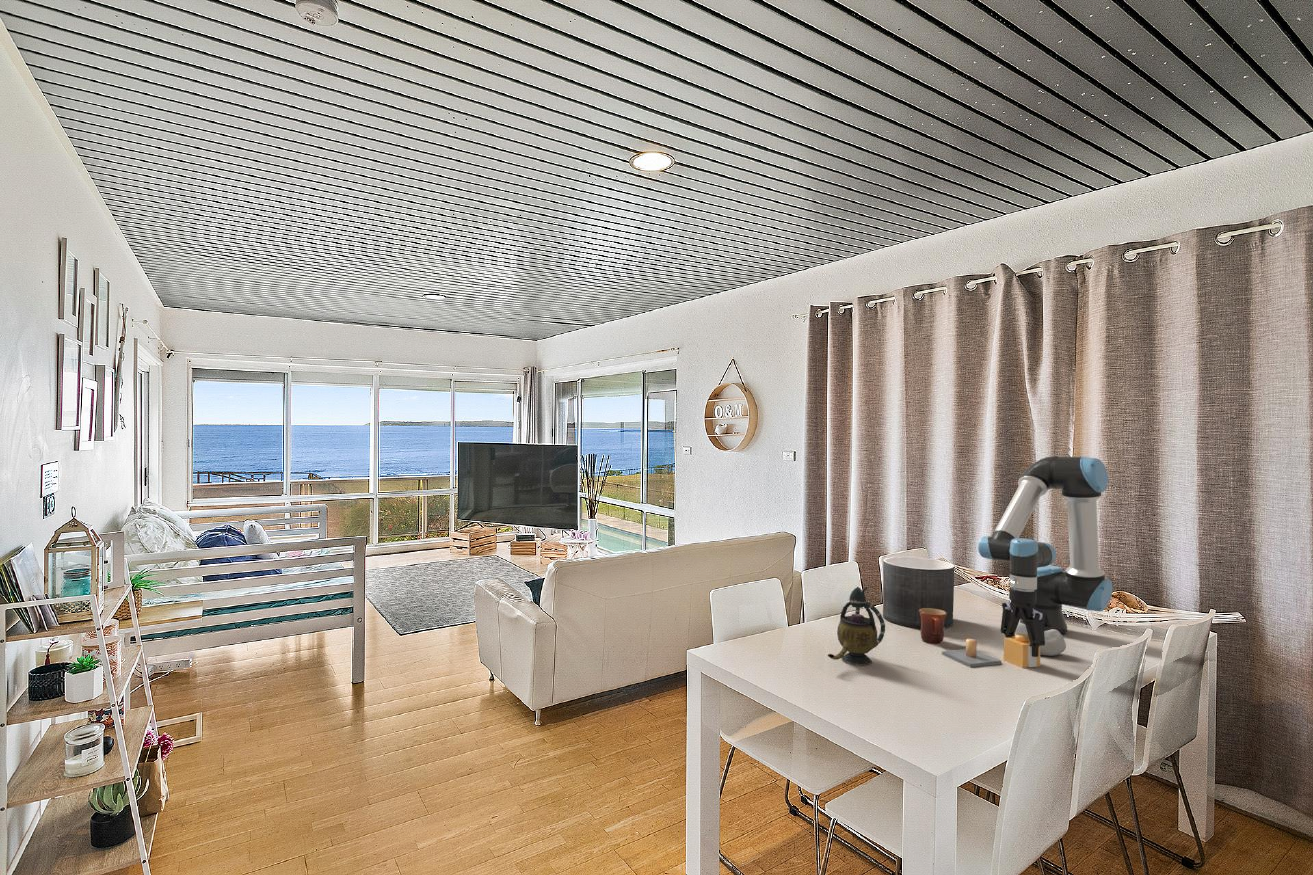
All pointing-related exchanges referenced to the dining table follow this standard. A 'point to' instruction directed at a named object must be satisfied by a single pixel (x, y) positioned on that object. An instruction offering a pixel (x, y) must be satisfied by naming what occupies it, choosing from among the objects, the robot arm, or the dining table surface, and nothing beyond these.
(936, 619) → the mug
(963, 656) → the plate
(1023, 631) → the decorative stone
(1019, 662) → the orange cube with dome
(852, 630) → the teapot
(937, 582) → the planter
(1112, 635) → the dining table surface
